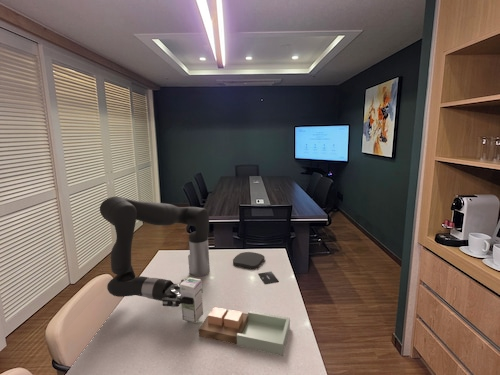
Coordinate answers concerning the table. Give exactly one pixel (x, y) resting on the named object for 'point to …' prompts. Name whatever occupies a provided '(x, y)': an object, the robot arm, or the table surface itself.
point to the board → (222, 331)
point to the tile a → (217, 316)
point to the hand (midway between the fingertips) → (197, 296)
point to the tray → (265, 333)
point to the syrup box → (193, 290)
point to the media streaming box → (248, 260)
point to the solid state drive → (268, 277)
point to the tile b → (233, 319)
